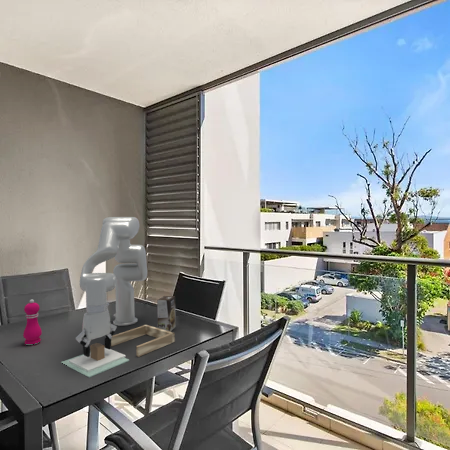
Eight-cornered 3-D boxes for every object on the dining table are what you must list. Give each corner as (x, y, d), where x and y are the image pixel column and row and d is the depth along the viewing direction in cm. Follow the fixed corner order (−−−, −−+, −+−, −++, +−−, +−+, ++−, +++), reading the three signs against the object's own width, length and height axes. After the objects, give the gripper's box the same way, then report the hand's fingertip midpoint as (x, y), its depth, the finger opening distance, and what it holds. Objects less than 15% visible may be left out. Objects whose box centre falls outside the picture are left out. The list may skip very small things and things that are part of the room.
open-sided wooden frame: (109, 345, 147) (109, 336, 147) (146, 332, 163) (145, 324, 163) (138, 356, 135) (138, 347, 135) (174, 341, 151) (174, 333, 151)
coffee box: (169, 333, 162) (169, 300, 161) (157, 332, 163) (156, 299, 163) (176, 327, 171) (175, 295, 170) (164, 326, 172) (163, 295, 172)
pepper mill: (45, 341, 153) (44, 298, 153) (31, 347, 146) (30, 301, 146) (33, 339, 155) (32, 296, 155) (19, 345, 149) (18, 300, 148)
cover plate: (68, 362, 129) (68, 347, 129) (105, 349, 142) (105, 335, 142) (88, 372, 121) (88, 356, 121) (125, 357, 134) (125, 342, 133)
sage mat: (61, 363, 130) (61, 362, 130) (100, 348, 143) (100, 348, 143) (89, 377, 118) (89, 376, 118) (129, 360, 131) (129, 359, 131)
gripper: (110, 302, 140) (111, 343, 140) (70, 311, 126) (71, 357, 127) (121, 304, 135) (122, 347, 136) (80, 315, 122) (81, 362, 122)
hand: (97, 352), depth 131 cm, fingers open, 8 cm apart
